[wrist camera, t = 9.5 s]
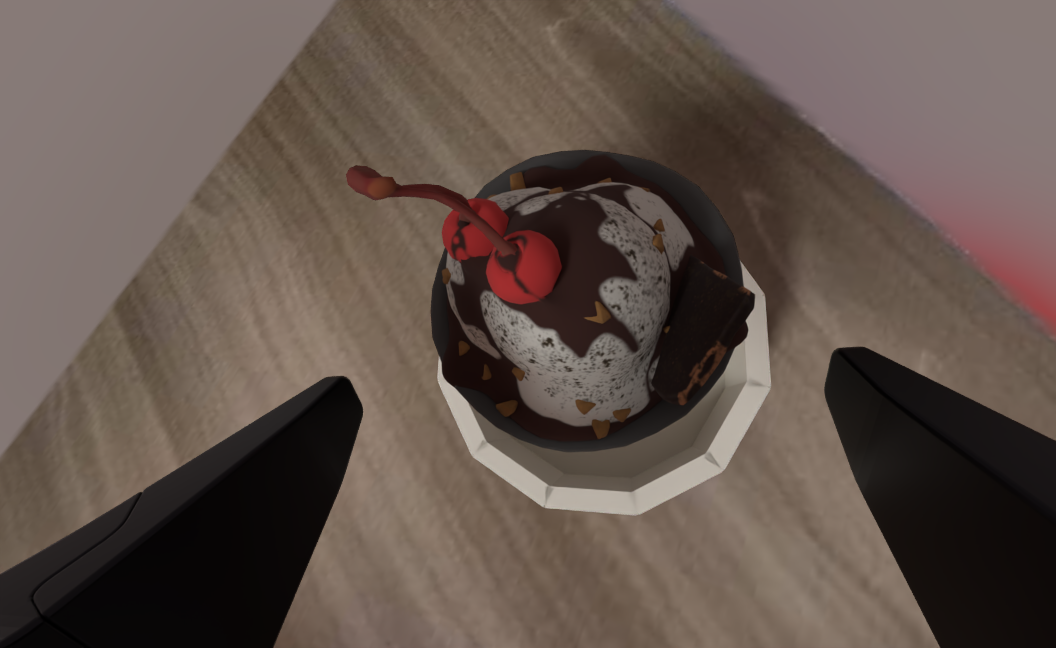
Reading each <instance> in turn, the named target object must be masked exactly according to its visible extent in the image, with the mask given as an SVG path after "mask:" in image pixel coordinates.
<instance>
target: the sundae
mask: <svg viewBox="0 0 1056 648" xmlns="http://www.w3.org/2000/svg"><path fill="white" fill-rule="evenodd" d="M346 177H347V182H348V185H349V186H350V187H351V188H352V189H354V190H355V191H356V192H358V193H360V194H363V195H365V196H367V197H369V198H371V199H373V200H380V199H384V198H387V197H404V196H405V197H419V198H427V199H434V200H436V201H439V202H441V203H443V204H445V205H447V206H449V207H450V208H452V209H453V210H452V212H451V213H450V214H449V215H448V217H447V218H446V219H445V221H444V225H443V229H442V237H443V243H444V246H445V249H444V252H443V255H442V258H441V261H440V264H439V266H438V270H437V273H436V277H435V281H434V285H433V288H432V300H431V323H432V337H433V340H434V343H435V346H436V349H437V351H438V354H439V357H440V360H441V363H442V374H443V377H444V379H445V380H446V381H447V383H449V384H450V385H451V386H453V387H455V389H456V390H457V391H458V392H459V393H460V394H461V395H462V396H463V397H464V398H465V399H466V400H467V401H468V403H469V404H470V405H471V406H472V407H473V408H474V409H475V410H476V411H477V412H478V413H480V414H481V415H482V416H483V417H484V418H486V419H487V420H488V421H489V422H490V423H492V424H493V425H494V426H495V427H496V428H498V429H500V430H502V431H504V432H506V433H508V434H510V435H511V436H513V437H515V438H517V439H519V440H522V441H524V442H527V443H530V444H533V445H536V446H539V447H541V448H546V449H552V450H557V451H562V452H593V451H600V450H606V449H612V448H618V447H625V446H628V445H630V444H632V443H635V442H637V441H639V440H642V439H644V438H646V437H649V436H651V435H653V434H655V433H657V432H659V431H661V430H663V429H664V428H666V427H668V426H669V425H671V424H673V423H674V422H676V421H678V420H679V419H681V418H683V417H684V416H686V415H687V414H688V413H689V412H690V411H691V410H692V409H693V408H694V407H695V406H696V405H697V404H698V403H699V402H700V401H701V400H702V399H703V398H704V396H705V395H706V394H707V393H708V392H709V391H710V390H711V389H712V387H713V386H714V385H715V383H716V382H717V381H718V379H719V378H720V377H721V375H722V374H723V373H724V371H725V370H726V367H727V365H728V363H729V360H730V358H731V356H732V354H733V351H734V349H735V347H737V346H738V345H740V344H741V343H742V342H743V341H744V340H745V339H746V338H747V335H748V331H749V330H748V326H747V323H746V319H747V318H748V316H749V315H750V313H751V312H752V311H753V309H754V305H755V294H754V293H753V292H751V291H750V290H748V289H747V288H745V287H744V283H743V275H742V267H741V263H740V259H739V255H738V251H737V247H736V243H735V239H734V236H733V234H732V232H731V231H730V229H729V227H728V225H727V224H726V222H725V220H724V219H723V217H722V215H721V214H720V212H719V210H718V209H717V208H716V206H715V205H714V204H713V203H712V202H711V200H710V199H709V198H708V197H707V196H706V195H705V193H704V192H703V191H702V190H701V189H700V187H699V186H697V185H696V184H694V183H692V182H691V181H689V180H688V179H686V178H685V177H683V176H682V175H680V174H678V173H677V172H675V171H673V170H671V169H669V168H667V167H665V166H662V165H660V164H658V163H656V162H654V161H650V160H646V159H641V158H637V157H633V156H628V155H622V154H616V153H610V152H601V151H591V150H575V151H560V152H555V153H550V154H545V155H540V156H535V157H532V158H530V159H528V160H526V161H524V162H522V163H520V164H518V165H516V166H514V167H512V168H510V169H507V170H506V171H505V172H503V173H502V174H500V175H499V176H498V177H496V178H495V179H493V180H492V181H491V182H489V183H488V184H486V185H485V186H484V187H483V188H482V190H481V191H480V192H479V193H478V194H477V196H476V197H475V198H474V199H468V200H467V199H466V198H464V197H463V196H462V195H461V194H458V193H456V192H454V191H451V190H449V189H447V188H444V187H442V186H439V185H431V184H414V185H403V186H401V185H399V184H396V182H395V180H394V179H393V177H382V176H381V175H380V174H379V173H377V172H376V171H375V170H373V169H371V168H369V167H367V166H354V167H351V168H350V169H349V170H348V172H347V174H346Z"/></svg>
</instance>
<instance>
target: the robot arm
mask: <svg viewBox="0 0 1056 648" xmlns="http://www.w3.org/2000/svg"><path fill="white" fill-rule="evenodd" d="M824 392H825V398H826V402H827V404H828V407H829V410H830V412H831V415H832V418H833V421H834V423H835V426H836V429H837V432H838V434H839V437H840V440H841V443H842V445H843V448H844V451H845V454H846V456H847V459H848V462H849V464H850V467H851V470H852V472H853V475H854V477H855V480H856V482H857V484H858V486H859V488H860V491H861V493H862V495H863V497H864V499H865V501H866V503H867V505H868V507H869V509H870V511H871V513H872V514H873V516H874V518H875V520H876V522H877V524H878V526H879V528H880V530H881V532H882V534H883V536H884V538H885V540H886V542H887V544H888V546H889V548H890V550H891V552H892V554H893V556H894V558H895V560H896V562H897V564H898V566H899V568H900V570H901V572H902V573H903V575H904V577H905V579H906V581H907V583H908V585H909V587H910V589H911V591H912V593H913V595H914V597H915V599H916V601H917V603H918V605H919V607H920V609H921V611H922V613H923V615H924V617H925V619H926V621H927V623H928V625H929V627H930V629H931V630H932V632H933V634H934V636H935V638H936V640H937V642H938V644H939V646H940V648H1056V441H1055V440H1053V439H1051V438H1049V437H1047V436H1045V435H1043V434H1041V433H1039V432H1036V431H1034V430H1032V429H1030V428H1028V427H1026V426H1024V425H1022V424H1020V423H1018V422H1016V421H1014V420H1012V419H1010V418H1008V417H1006V416H1004V415H1002V414H1000V413H998V412H996V411H994V410H992V409H990V408H988V407H986V406H984V405H982V404H980V403H978V402H976V401H974V400H971V399H969V398H967V397H965V396H963V395H961V394H959V393H957V392H955V391H953V390H951V389H949V388H947V387H945V386H943V385H941V384H939V383H937V382H935V381H933V380H931V379H929V378H927V377H925V376H923V375H921V374H919V373H917V372H915V371H913V370H911V369H909V368H906V367H904V366H902V365H900V364H898V363H896V362H894V361H892V360H890V359H888V358H886V357H884V356H882V355H880V354H878V353H876V352H874V351H872V350H870V349H868V348H865V347H845V348H837V349H836V350H834V352H833V353H832V356H831V359H830V364H829V368H828V373H827V377H826V382H825V387H824ZM362 416H363V407H362V404H361V402H360V400H359V398H358V396H357V393H356V391H355V389H354V387H353V385H352V383H351V381H350V380H349V379H348V378H347V377H345V376H332V377H326V378H324V379H322V380H320V381H319V382H317V383H316V384H314V385H312V386H311V387H309V388H307V389H306V390H304V391H303V392H301V393H299V394H298V395H296V396H295V397H293V398H291V399H290V400H288V401H286V402H285V403H283V404H282V405H280V406H278V407H277V408H275V409H274V410H272V411H270V412H269V413H267V414H265V415H264V416H262V417H261V418H259V419H257V420H256V421H254V422H252V423H251V424H249V425H248V426H246V427H244V428H243V429H241V430H240V431H238V432H236V433H235V434H233V435H231V436H230V437H228V438H227V439H225V440H223V441H222V442H220V443H218V444H217V445H215V446H214V447H212V448H210V449H209V450H207V451H206V452H204V453H202V454H201V455H199V456H197V457H196V458H194V459H193V460H191V461H189V462H188V463H186V464H185V465H183V466H181V467H180V468H178V469H176V470H175V471H173V472H172V473H170V474H168V475H167V476H165V477H163V478H162V479H160V480H159V481H157V482H155V483H154V484H152V485H151V486H149V487H147V488H146V489H145V490H144V491H143V492H139V493H137V494H136V495H134V496H133V497H131V498H129V499H128V500H126V501H124V502H123V503H121V504H120V505H118V506H116V507H115V508H113V509H111V510H110V511H108V512H106V513H105V514H103V515H101V516H100V517H98V518H96V519H95V520H93V521H92V522H90V523H88V524H87V525H85V526H83V527H82V528H80V529H78V530H76V531H75V532H73V533H71V534H70V535H68V536H66V537H64V538H63V539H61V540H59V541H57V542H56V543H54V544H52V545H50V546H49V547H47V548H45V549H44V550H42V551H40V552H38V553H37V554H35V555H33V556H31V557H29V558H28V559H26V560H24V561H22V562H21V563H19V564H17V565H15V566H14V567H12V568H10V569H8V570H7V571H5V572H3V573H1V574H0V648H273V647H274V644H275V642H276V640H277V637H278V635H279V633H280V630H281V628H282V625H283V623H284V621H285V618H286V616H287V613H288V611H289V609H290V606H291V604H292V602H293V599H294V597H295V594H296V592H297V590H298V587H299V585H300V582H301V580H302V578H303V575H304V573H305V571H306V568H307V566H308V563H309V561H310V559H311V556H312V554H313V552H314V549H315V547H316V544H317V542H318V540H319V537H320V535H321V532H322V530H323V528H324V525H325V523H326V521H327V518H328V516H329V513H330V511H331V509H332V506H333V504H334V501H335V499H336V497H337V494H338V492H339V489H340V487H341V484H342V481H343V478H344V475H345V472H346V469H347V466H348V463H349V459H350V456H351V453H352V450H353V446H354V443H355V440H356V437H357V433H358V430H359V427H360V423H361V420H362Z"/></svg>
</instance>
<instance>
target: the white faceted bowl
mask: <svg viewBox="0 0 1056 648" xmlns="http://www.w3.org/2000/svg"><path fill="white" fill-rule="evenodd" d="M740 263H741V267H742V275H743V283H744V287H745V288H747V289H748V290H750V291H751V292H753V293H754V294H755V305H754V309H753V311H752V312H751V313H750V315H749V316H748V318H747V319H746V323H747V326H748V330H749V331H748V335H747V338H746V339H745V340H744V341H743V342H742V343H741V344H740V345H738V346H737V347H735V349H734V351H733V354H732V356H731V358H730V360H729V363H728V365H727V367H726V370H725V371H724V373H723V374H722V375H721V377H720V378H719V379H718V381H717V382H716V383H715V385H714V386H713V387H712V389H711V390H710V391H709V392H708V393H707V394H706V395H705V396H704V398H703V399H702V400H701V401H700V402H699V403H698V404H697V405H696V406H695V407H694V408H693V409H692V410H691V411H690V412H689V413H688V414H687V415H686V416H684V417H683V418H681V419H679V420H678V421H676V422H674V423H673V424H671V425H669V426H668V427H666V428H664V429H663V430H661V431H659V432H657V433H655V434H653V435H651V436H649V437H646V438H644V439H642V440H639V441H637V442H635V443H632V444H630V445H628V446H625V447H618V448H612V449H606V450H600V451H593V452H562V451H557V450H552V449H546V448H541V447H539V446H536V445H533V444H530V443H527V442H524V441H522V440H519V439H517V438H515V437H513V436H511V435H510V434H508V433H506V432H504V431H502V430H500V429H498V428H496V427H495V426H494V425H493V424H492V423H490V422H489V421H488V420H487V419H486V418H484V417H483V416H482V415H481V414H480V413H478V412H477V411H476V410H475V409H474V408H473V407H472V406H471V405H470V404H469V403H468V401H467V400H466V399H465V398H464V397H463V396H462V395H461V394H460V393H459V392H458V391H457V390H456V389H455V387H453V386H451V385H450V384H449V383H447V381H446V380H445V379H444V377H443V374H442V363H441V360H440V357H439V365H438V378H437V380H439V381H438V383H439V385H440V387H441V389H442V392H443V394H444V396H445V398H446V400H447V403H448V405H449V407H450V409H451V411H452V413H453V416H454V418H455V420H456V422H457V424H458V427H459V429H460V431H461V433H462V435H463V438H464V440H465V442H466V444H467V446H468V448H469V451H470V453H471V455H473V457H474V458H475V459H477V460H478V461H479V462H481V463H482V464H484V465H485V466H486V467H488V468H489V469H491V470H492V471H493V472H495V473H496V474H498V475H499V476H500V477H502V478H503V479H505V480H506V481H507V482H509V483H510V484H512V485H513V486H514V487H516V488H517V489H519V490H520V491H521V492H523V493H524V494H526V495H527V496H528V497H530V498H531V499H533V500H534V501H535V502H537V503H538V504H539V505H541V506H542V507H544V506H545V508H552V509H564V510H577V511H589V512H601V513H613V514H625V515H637V513H638V515H640V514H642V513H644V512H646V511H648V510H649V509H651V508H653V507H655V506H657V505H659V504H661V503H663V502H665V501H667V500H669V499H671V498H673V497H675V496H677V495H679V494H681V493H682V492H684V491H686V490H688V489H690V488H692V487H694V486H696V485H698V484H700V483H702V482H704V481H706V480H708V479H710V478H712V477H713V476H715V475H717V474H719V473H721V472H723V471H722V470H725V468H726V466H727V464H728V463H729V461H730V459H731V457H732V456H733V454H734V452H735V450H736V449H737V447H738V445H739V443H740V442H741V440H742V438H743V436H744V435H745V433H746V431H747V429H748V428H749V426H750V424H751V422H752V420H753V419H754V417H755V415H756V413H757V412H758V410H759V408H760V406H761V405H762V403H763V401H764V399H765V398H766V396H767V394H768V392H769V391H770V389H771V388H769V387H771V378H770V363H769V348H768V332H767V317H766V302H765V296H763V295H764V293H763V291H762V290H761V289H760V287H759V286H758V284H757V283H756V282H755V280H754V279H753V277H752V276H751V275H750V273H749V272H748V271H747V269H746V268H745V266H744V265H743V264H742V262H741V261H740Z"/></svg>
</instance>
